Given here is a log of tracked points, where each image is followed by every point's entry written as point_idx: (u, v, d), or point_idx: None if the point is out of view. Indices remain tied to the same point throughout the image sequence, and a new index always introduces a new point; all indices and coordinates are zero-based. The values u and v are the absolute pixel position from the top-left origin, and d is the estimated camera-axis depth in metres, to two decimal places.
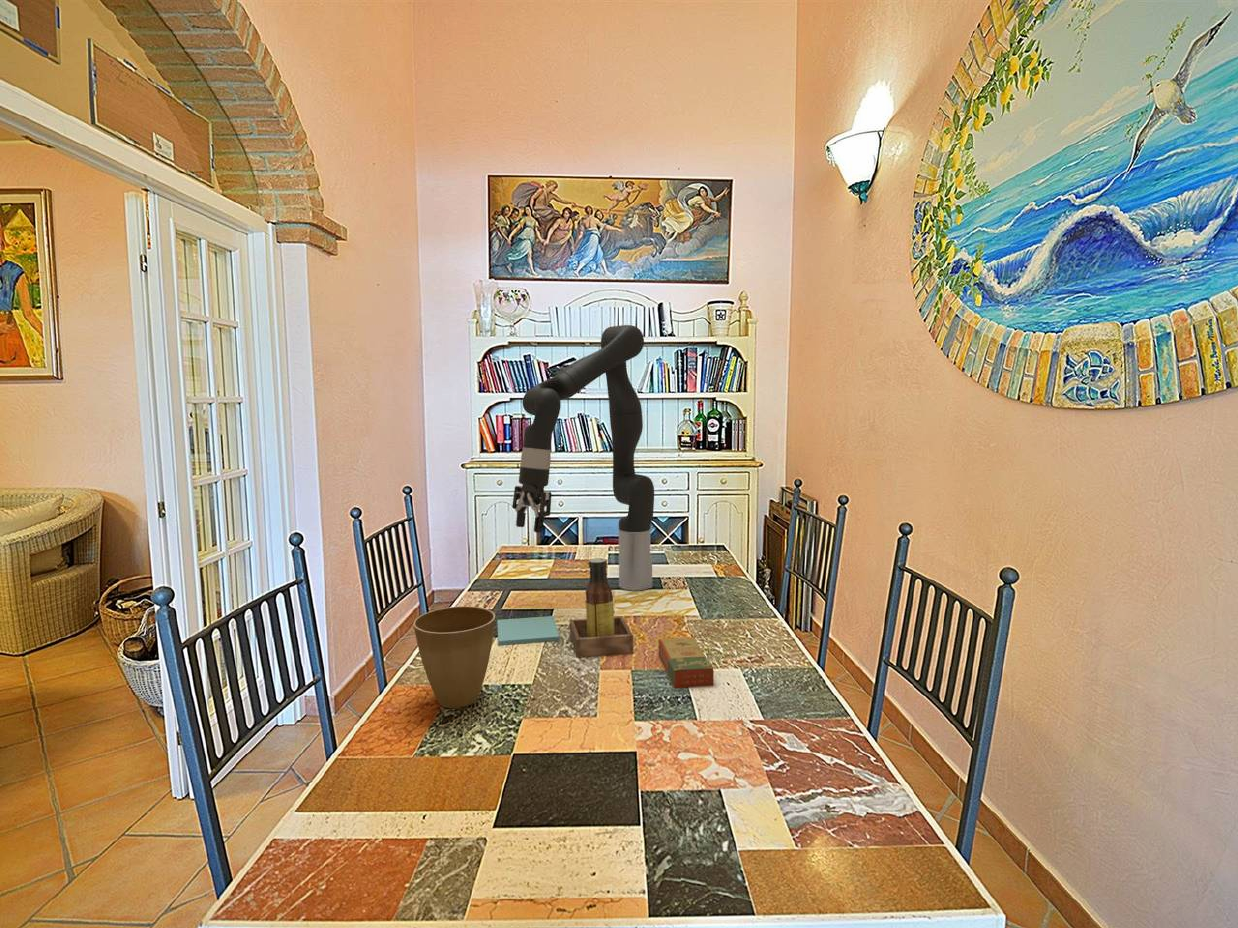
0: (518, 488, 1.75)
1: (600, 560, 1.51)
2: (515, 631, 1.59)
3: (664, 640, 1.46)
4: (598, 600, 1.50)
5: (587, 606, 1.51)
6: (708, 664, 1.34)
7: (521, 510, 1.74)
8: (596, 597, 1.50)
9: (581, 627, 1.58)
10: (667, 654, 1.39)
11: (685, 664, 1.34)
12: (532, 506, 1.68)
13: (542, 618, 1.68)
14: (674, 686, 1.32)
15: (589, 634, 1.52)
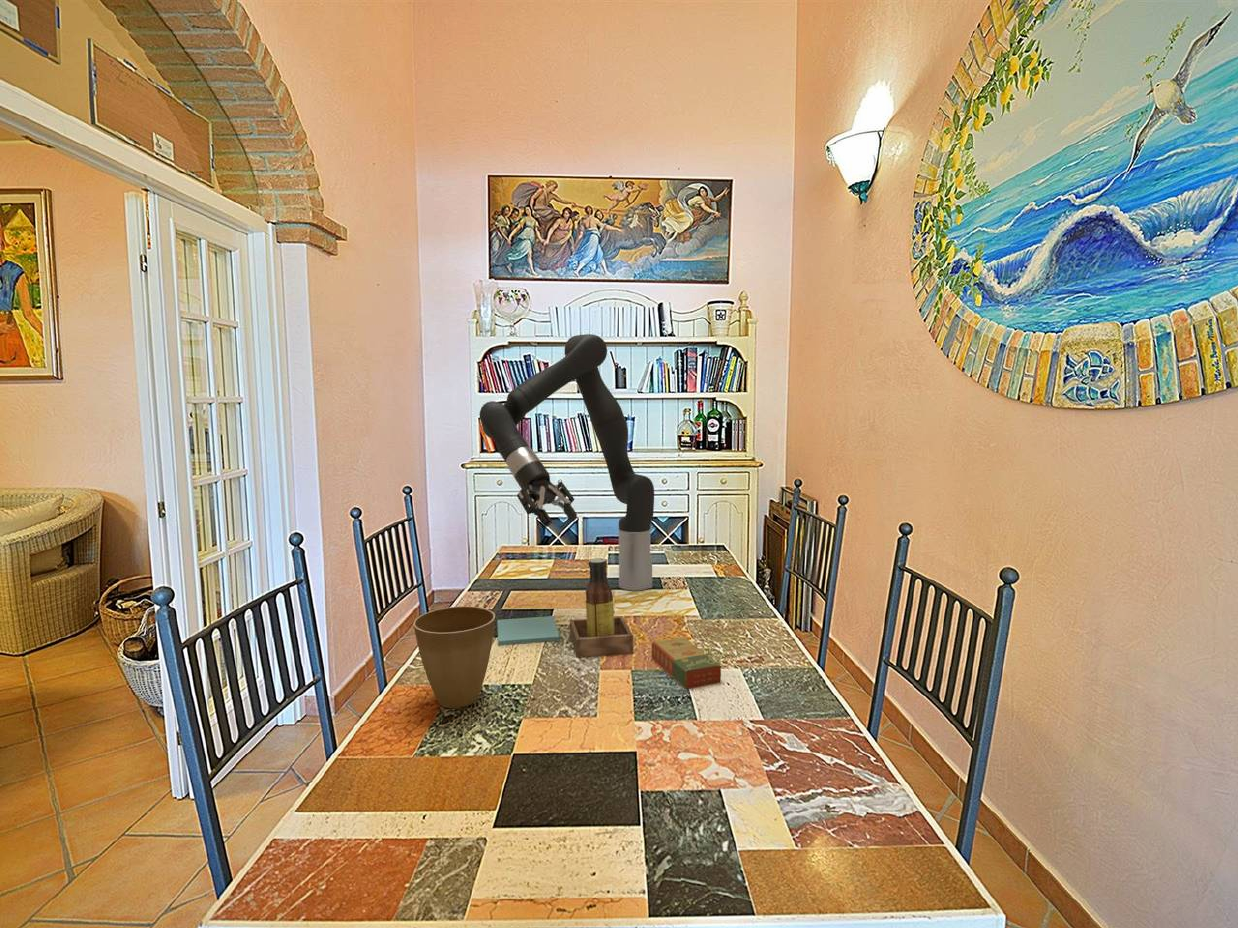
0: None
1: (600, 560, 1.51)
2: (515, 631, 1.59)
3: (658, 642, 1.45)
4: (598, 600, 1.50)
5: (587, 606, 1.51)
6: (714, 661, 1.35)
7: (564, 505, 1.63)
8: (596, 597, 1.50)
9: (581, 627, 1.58)
10: (669, 656, 1.38)
11: (693, 664, 1.34)
12: None
13: (542, 618, 1.68)
14: (685, 687, 1.31)
15: (589, 634, 1.52)
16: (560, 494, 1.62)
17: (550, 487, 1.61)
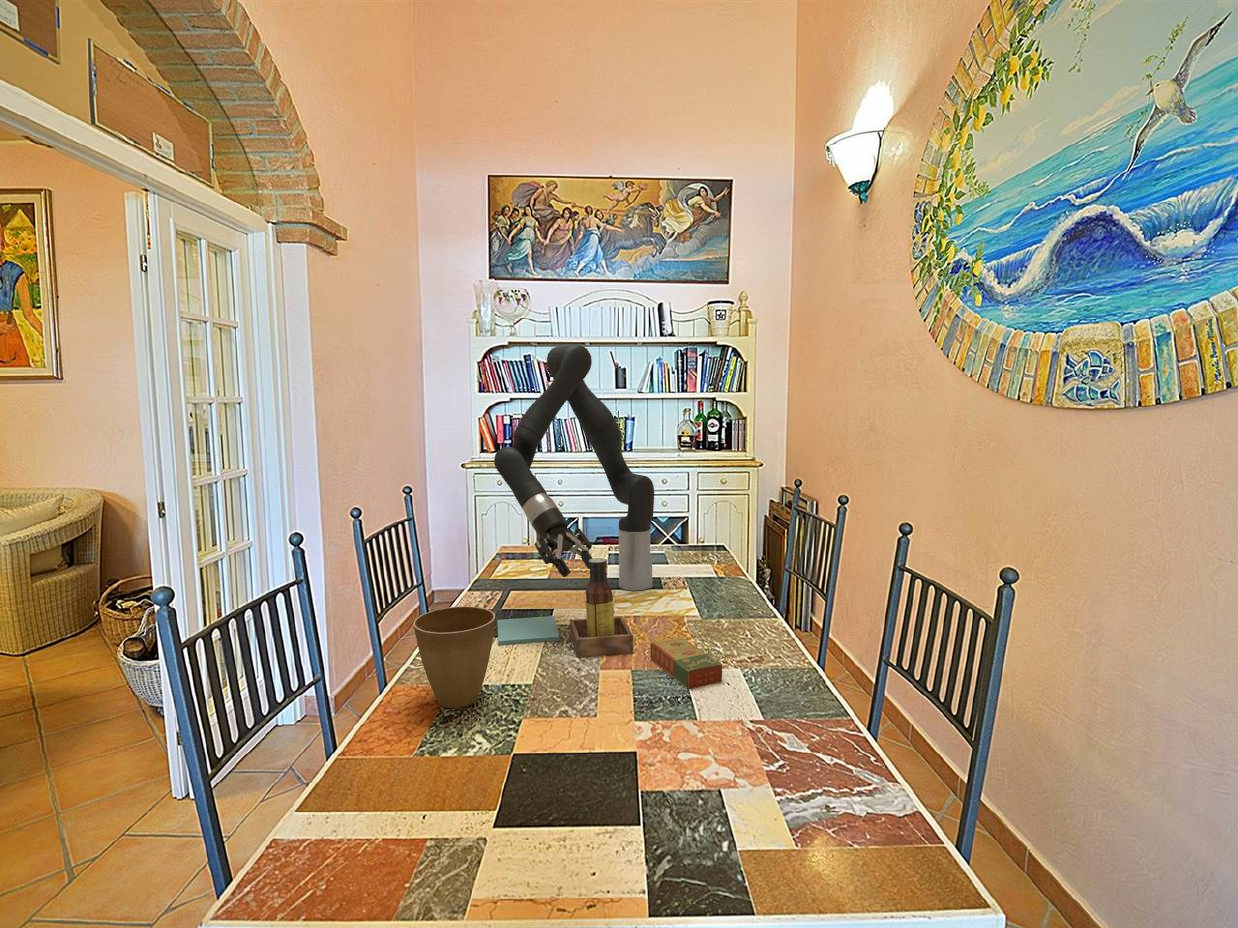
0: None
1: (600, 560, 1.51)
2: (515, 631, 1.59)
3: (657, 642, 1.45)
4: (598, 600, 1.50)
5: (587, 606, 1.51)
6: (715, 661, 1.36)
7: (581, 553, 1.60)
8: (596, 597, 1.50)
9: (581, 627, 1.58)
10: (670, 656, 1.38)
11: (694, 664, 1.34)
12: None
13: (542, 618, 1.68)
14: (688, 687, 1.31)
15: (589, 634, 1.52)
16: (578, 541, 1.59)
17: (568, 535, 1.59)
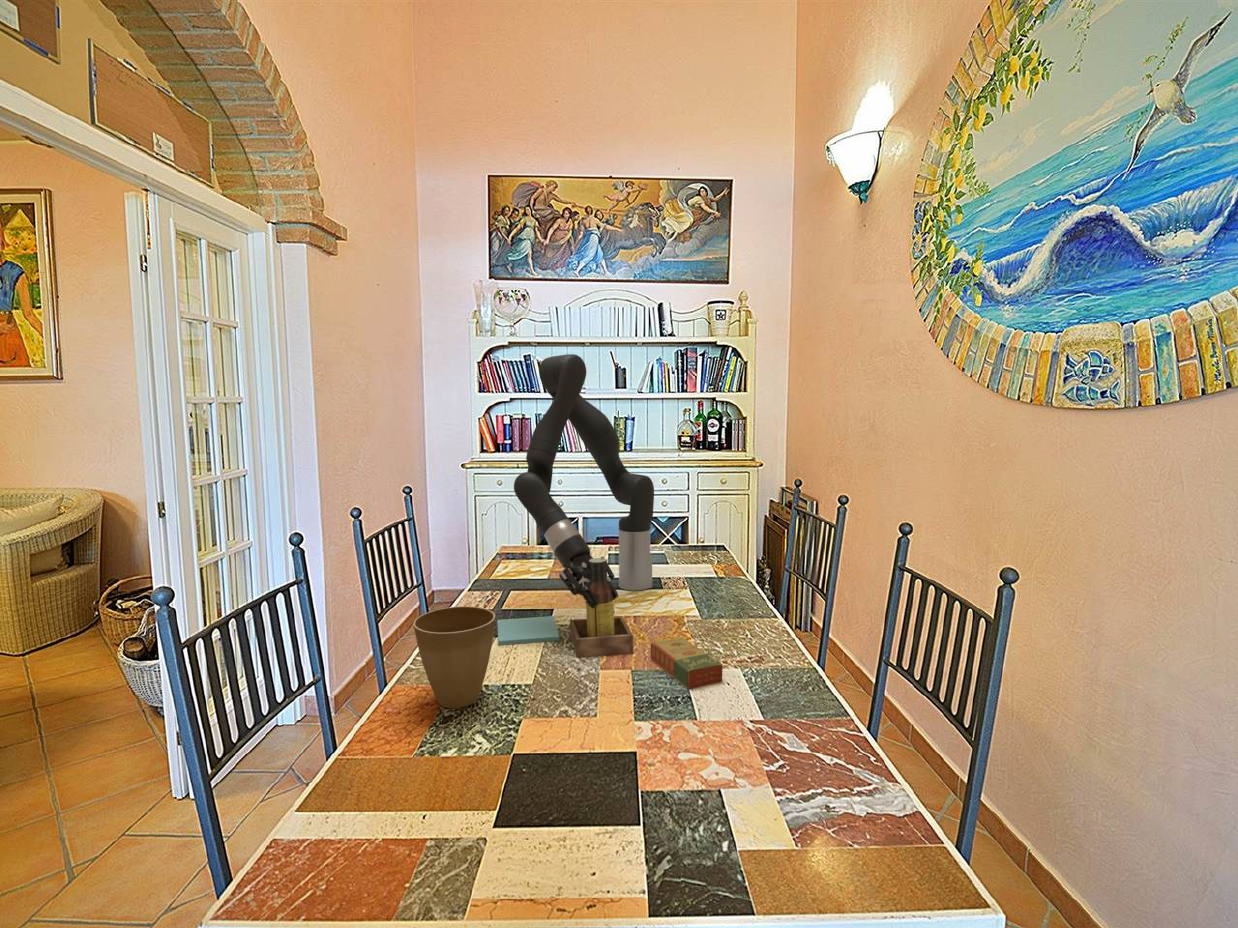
0: None
1: (600, 560, 1.51)
2: (515, 631, 1.59)
3: (657, 642, 1.45)
4: (598, 600, 1.50)
5: (587, 606, 1.51)
6: (715, 661, 1.36)
7: None
8: (596, 597, 1.50)
9: (581, 627, 1.58)
10: (670, 656, 1.38)
11: (695, 663, 1.34)
12: None
13: (542, 618, 1.68)
14: (688, 687, 1.31)
15: (589, 634, 1.52)
16: None
17: None
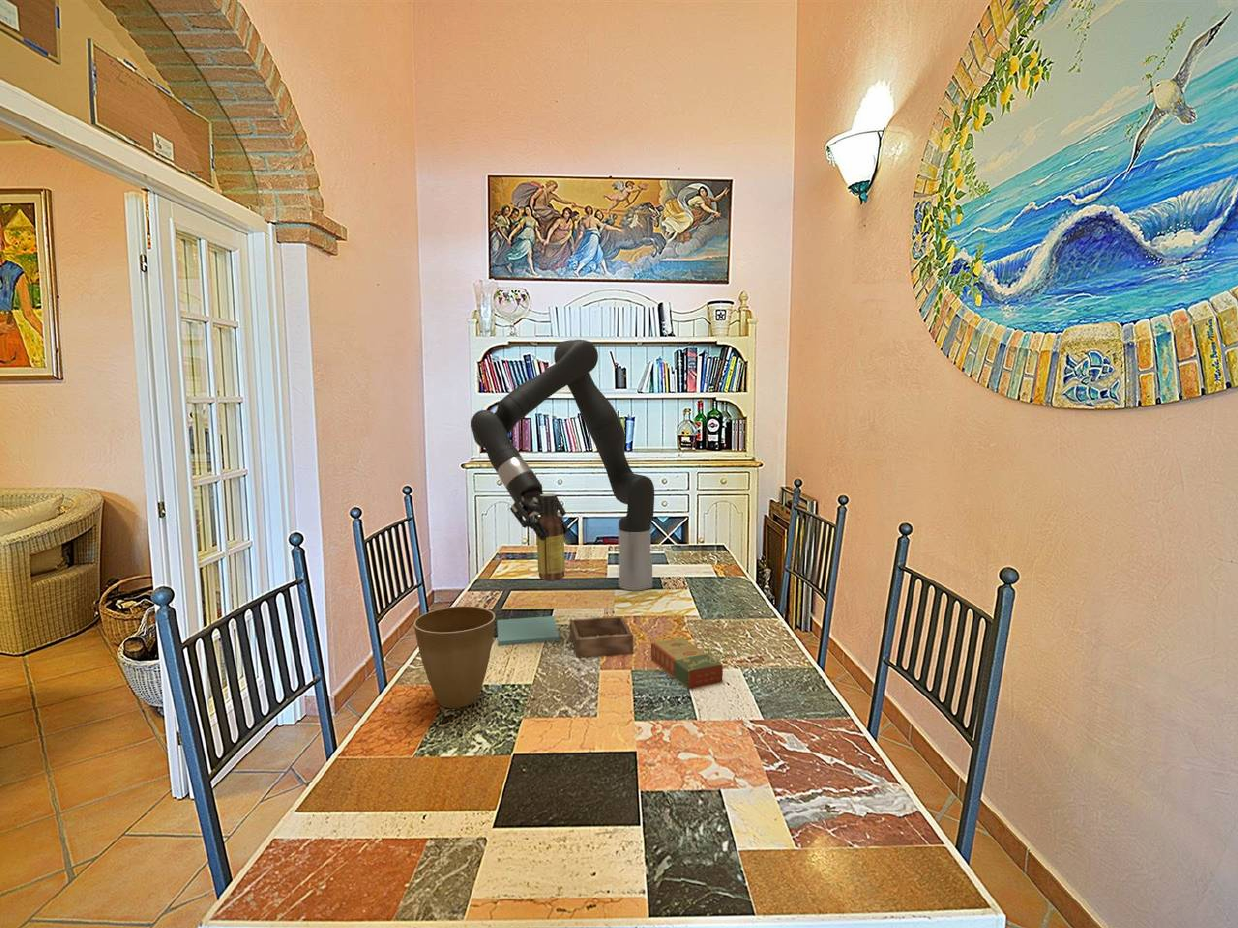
0: None
1: (551, 494, 1.55)
2: (515, 631, 1.59)
3: (657, 643, 1.45)
4: (548, 533, 1.53)
5: (537, 539, 1.54)
6: (715, 661, 1.36)
7: None
8: (546, 530, 1.53)
9: (581, 627, 1.58)
10: (670, 656, 1.38)
11: (695, 664, 1.34)
12: None
13: (542, 618, 1.68)
14: (688, 687, 1.31)
15: (539, 567, 1.55)
16: None
17: None
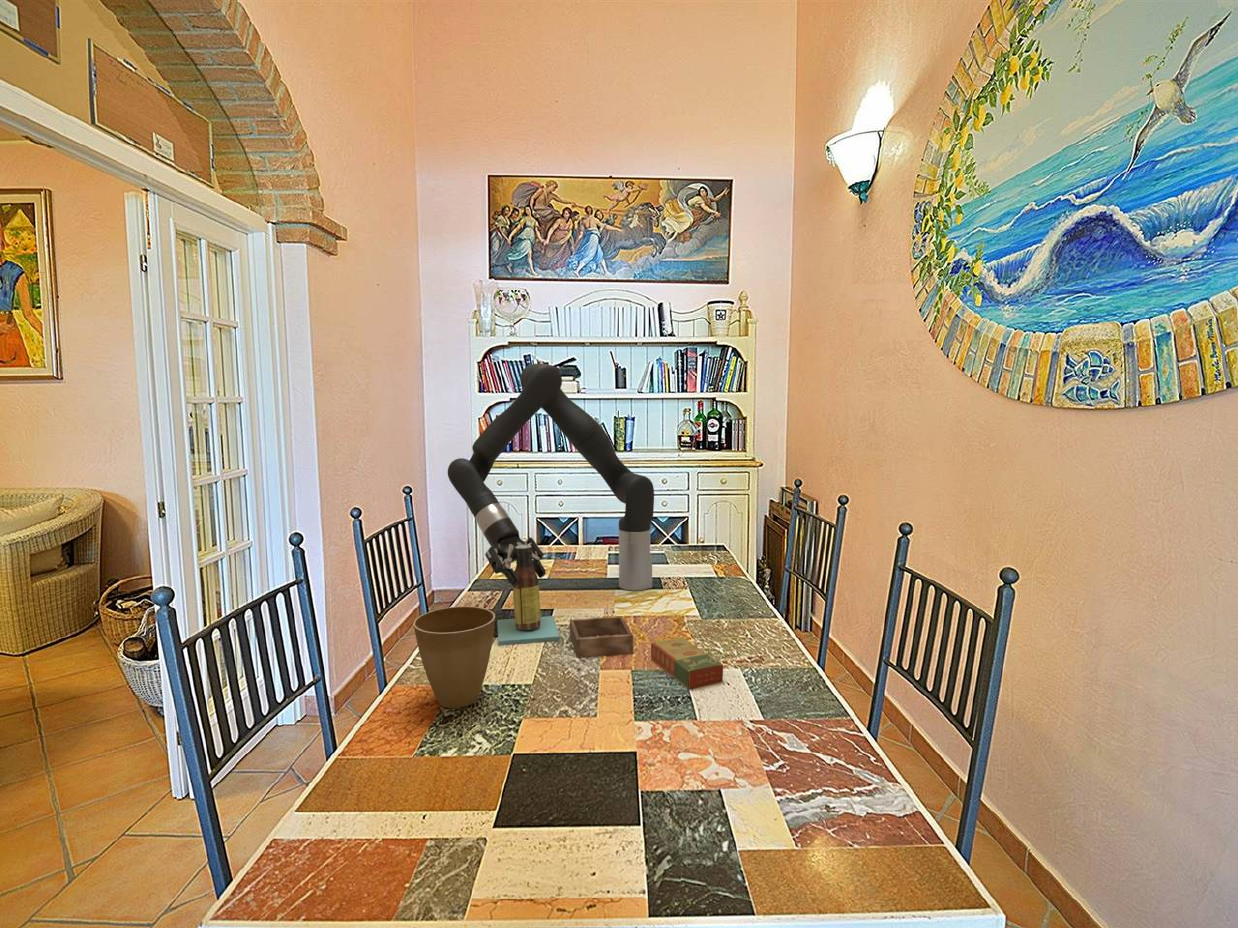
0: None
1: (526, 546, 1.60)
2: (515, 631, 1.59)
3: (657, 643, 1.45)
4: (523, 584, 1.58)
5: (513, 590, 1.59)
6: (716, 661, 1.36)
7: (533, 562, 1.64)
8: (521, 581, 1.58)
9: (581, 627, 1.58)
10: (670, 656, 1.38)
11: (695, 664, 1.34)
12: None
13: (542, 618, 1.68)
14: (689, 687, 1.31)
15: (515, 617, 1.60)
16: None
17: (519, 544, 1.62)
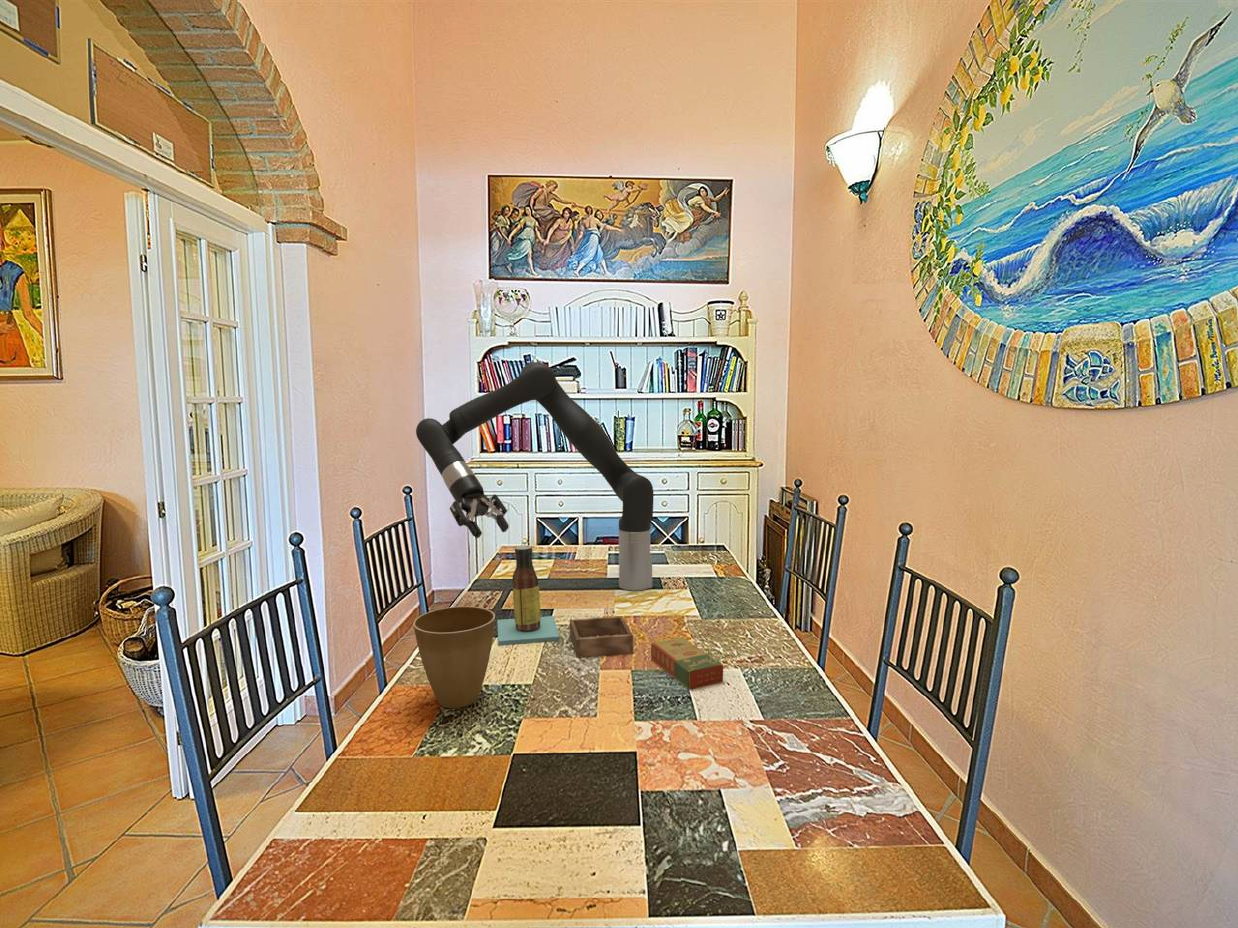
0: None
1: (526, 547, 1.59)
2: (515, 631, 1.59)
3: (657, 643, 1.45)
4: (523, 585, 1.57)
5: (513, 591, 1.59)
6: (716, 661, 1.36)
7: (496, 517, 1.71)
8: (521, 582, 1.57)
9: (581, 627, 1.58)
10: (670, 656, 1.38)
11: (695, 664, 1.34)
12: None
13: (542, 618, 1.68)
14: (689, 687, 1.31)
15: (515, 618, 1.60)
16: (492, 506, 1.70)
17: (483, 500, 1.69)
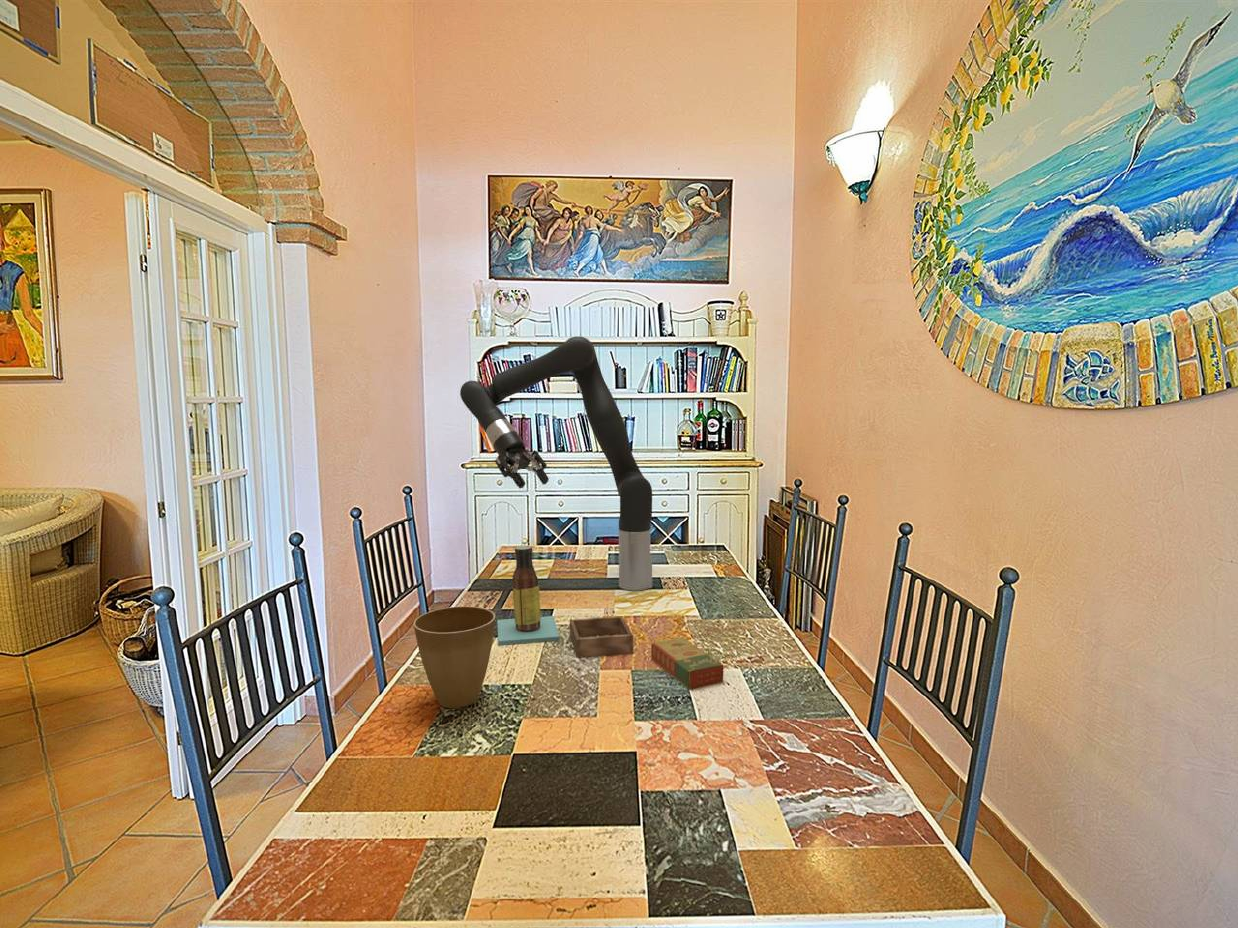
0: None
1: (526, 547, 1.59)
2: (515, 631, 1.59)
3: (658, 643, 1.45)
4: (523, 585, 1.57)
5: (513, 591, 1.59)
6: (716, 661, 1.35)
7: (537, 471, 1.84)
8: (521, 582, 1.57)
9: (581, 627, 1.58)
10: (671, 656, 1.38)
11: (695, 664, 1.34)
12: None
13: (542, 618, 1.68)
14: (689, 687, 1.31)
15: (515, 618, 1.60)
16: (534, 460, 1.83)
17: (525, 454, 1.82)
